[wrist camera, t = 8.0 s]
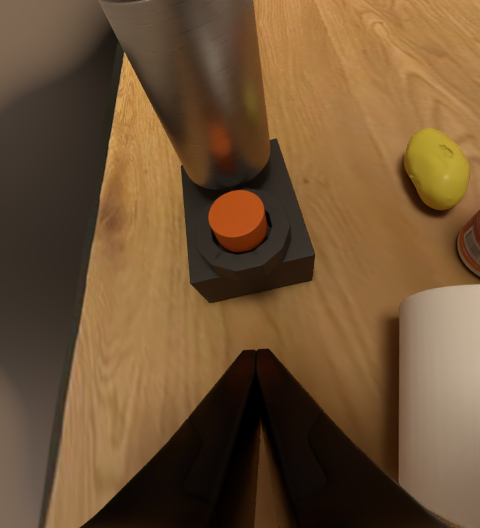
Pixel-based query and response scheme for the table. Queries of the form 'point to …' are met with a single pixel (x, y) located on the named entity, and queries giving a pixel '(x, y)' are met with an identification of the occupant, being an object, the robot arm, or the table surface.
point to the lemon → (437, 169)
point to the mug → (441, 401)
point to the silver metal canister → (200, 81)
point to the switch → (238, 220)
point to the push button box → (260, 258)
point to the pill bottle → (470, 244)
